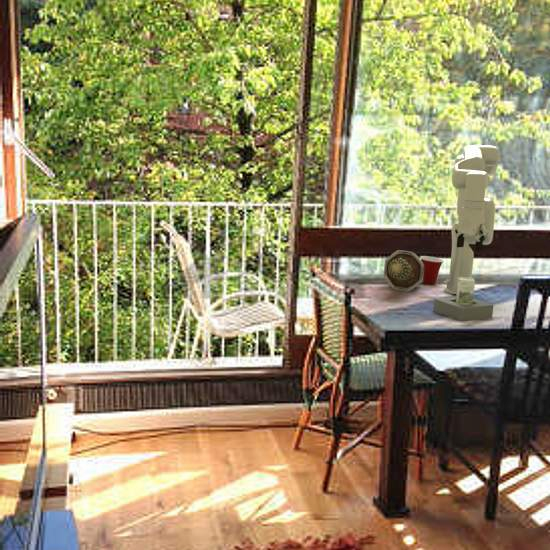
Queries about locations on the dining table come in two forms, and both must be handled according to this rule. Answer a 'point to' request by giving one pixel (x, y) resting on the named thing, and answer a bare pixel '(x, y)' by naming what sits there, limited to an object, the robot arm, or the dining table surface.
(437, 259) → the plastic cup
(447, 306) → the socket stand
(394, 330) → the dining table surface
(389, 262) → the potted plant
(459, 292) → the syrup box
